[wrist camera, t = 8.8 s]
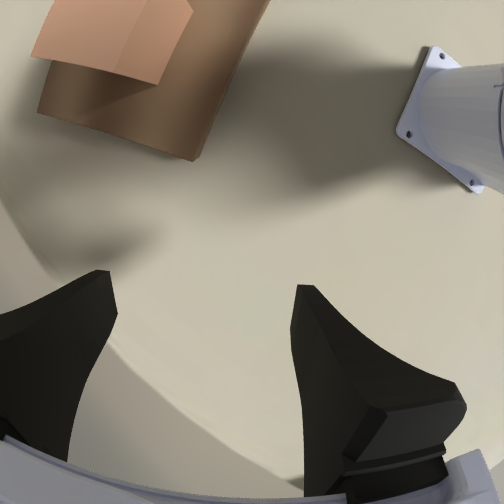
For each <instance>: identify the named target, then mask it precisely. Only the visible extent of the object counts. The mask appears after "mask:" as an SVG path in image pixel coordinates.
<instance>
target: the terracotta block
mask: <svg viewBox="0 0 504 504" xmlns="http://www.w3.org/2000/svg"><path fill="white" fill-rule="evenodd" d="M193 12H194V11H193V10H192V8H191V6H190V5H189V3H188V1H187V0H55V1H54V3H53V5H52V7H51V9H50V11H49V13H48V15H47V17H46V19H45V22H44V24H43V26H42V28H41V31H40V33H39V36H38V38H37V40H36V43H35V45H34V48H33V51H32V53H31V57H38V58H44V59H50V60H56V61H62V62H67V63H72V64H77V65H82V66H86V67H91V68H95V69H100V70H104V71H108V72H112V73H116V74H120V75H124V76H127V77H131V78H135V79H138V80H142V81H145V82H148V83H152V84H155V85H158V84H159V81H160V79H161V77H162V74H163V72H164V70H165V68H166V65H167V63H168V61H169V59H170V57H171V55H172V53H173V50H174V48H175V46H176V44H177V42H178V40H179V38H180V36H181V34H182V32H183V30H184V28H185V27H186V25H187V23H188V21H189V19H190V17H191V15H192V14H193Z"/></svg>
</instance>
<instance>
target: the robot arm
mask: <svg viewBox="0 0 504 504" xmlns="http://www.w3.org/2000/svg"><path fill="white" fill-rule="evenodd" d="M439 54H441V55H442V59H441V58H440V56H439ZM408 131H409V132H410V137H409V138H408V137H407V135H406V134H407V132H408ZM396 134H397V135H398V136H399V137H400V138H402V139H403V140H405V141H406V142H408V143H409V144H411V145H412V146H414V147H415V148H417V149H418V150H419V151H421V152H422V153H424V154H425V155H427V156H428V157H429V158H431V159H432V160H433V161H435V162H436V163H437V164H439V165H440V166H441V167H443V168H444V169H445V170H447V171H448V172H449V173H451V174H452V175H453V176H454V177H456V178H457V179H458V180H459V181H461V182H462V183H463V184H464V185H465V186H467V187H468V188H469V189H470V190H471V191H473V192H474V193H476V194H481V192H482V191H483V188H484V186H487V187H489V188H492V189H494V190H496V191H498V192H500V193H502V194H504V64H492V65H479V66H469V67H462V66H460V65H459V64H458V63H457V62H456V61H455V60H454V59H452V58H451V57H450V56H449V55H448V54H446V53H445V52H444V51H443V50H441V49H440V48H439V47H437V46H432V47H430V48H429V51H428V53H427V56H426V59H425V61H424V64H423V66H422V69H421V71H420V73H419V76H418V78H417V81H416V83H415V86H414V88H413V90H412V93H411V95H410V97H409V100H408V102H407V104H406V106H405V109H404V111H403V113H402V115H401V118H400V120H399V122H398V124H397V126H396ZM471 180H472V182H471V184H470V181H471ZM117 314H118V312H117V307H116V303H115V298H114V292H113V287H112V282H111V276H110V271H104V270H95V271H92V272H90V273H88V274H86V275H84V276H82V277H80V278H78V279H76V280H74V281H72V282H70V283H69V284H67V285H65V286H63V287H61V288H59V289H58V290H56V291H54V292H52V293H50V294H48V295H46V296H44V297H42V298H40V299H38V300H36V301H34V302H32V303H30V304H27V305H25V306H23V307H20V308H18V309H15V310H13V311H10V312H7V313H4V314H0V504H501V501H500V499H499V496H498V493H497V490H496V487H495V485H494V482H493V479H492V477H491V474H490V472H489V469H488V467H487V464H486V462H485V460H484V457H483V455H482V453H481V450H480V449H476V450H474V451H471V452H468V453H466V454H463V455H460V456H458V457H455V458H453V459H451V460H449V461H448V462H446V463H444V460H443V457H442V455H444V454H445V453H446V448H445V446H444V443H443V442H444V441H445V440H446V439H447V438H448V437H449V436H450V434H451V433H452V432H453V431H454V430H455V429H456V428H457V426H458V425H459V424H460V422H461V421H462V420H463V418H464V415H465V413H466V410H467V406H466V403H465V401H464V399H463V397H462V395H461V393H460V392H459V390H458V388H457V386H456V384H455V383H454V382H451V381H449V380H446V379H443V378H440V377H438V376H435V375H432V374H429V373H427V372H425V371H423V370H420V369H418V368H416V367H414V366H412V365H410V364H408V363H406V362H404V361H402V360H401V359H399V358H397V357H396V356H394V355H392V354H391V353H389V352H387V351H386V350H384V349H383V348H381V347H380V346H378V345H377V344H376V343H374V342H373V341H371V340H370V339H369V338H367V337H366V336H365V335H364V334H362V333H361V332H360V331H359V330H358V329H356V328H355V327H354V326H353V325H352V324H351V323H350V322H349V321H348V320H347V319H345V318H344V317H343V316H342V315H341V314H340V313H339V312H338V311H337V310H336V309H335V308H334V306H333V305H332V304H331V303H330V302H329V301H328V300H327V299H326V298H325V297H324V296H323V295H322V294H321V292H320V291H319V290H318V289H317V288H316V287H315V286H314V285H298V284H297V290H296V296H295V302H294V308H293V314H292V320H291V326H290V335H291V351H292V356H293V362H294V367H295V372H296V377H297V382H298V387H299V393H300V398H301V405H302V418H303V436H304V497H303V498H280V499H251V498H250V499H249V498H230V497H229V498H228V497H216V496H206V495H197V494H190V493H182V492H176V491H170V490H164V489H159V488H154V487H149V486H144V485H140V484H136V483H131V482H127V481H123V480H120V479H116V478H112V477H109V476H105V475H102V474H99V473H96V472H93V471H90V470H87V469H84V468H81V467H78V466H75V465H72V464H70V463H67V457H68V450H69V443H70V437H71V432H72V427H73V423H74V419H75V415H76V411H77V407H78V404H79V401H80V398H81V395H82V392H83V389H84V386H85V383H86V381H87V378H88V376H89V374H90V372H91V370H92V368H93V366H94V364H95V362H96V360H97V358H98V357H99V355H100V353H101V351H102V349H103V347H104V345H105V343H106V341H107V340H108V338H109V336H110V334H111V331H112V328H113V326H114V323H115V320H116V317H117Z"/></svg>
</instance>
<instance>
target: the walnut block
mask: <svg viewBox="0 0 504 504" xmlns="http://www.w3.org/2000/svg"><path fill="white" fill-rule="evenodd" d="M187 1H188V3H189V5H190V6H191V8H192V10H193V11H194V12H193V14H192V15H191V17H190V19H189V21H188V23H187V25H186V27H185V28H184V30H183V32H182V34H181V36H180V38H179V40H178V42H177V44H176V46H175V48H174V50H173V53H172V55H171V57H170V59H169V61H168V63H167V65H166V68H165V70H164V72H163V74H162V77H161V79H160V81H159V84H158V85H155V84H152V83H148V82H145V81H142V80H138V79H135V78H131V77H127V76H124V75H120V74H116V73H112V72H108V71H104V70H100V69H95V68H91V67H86V66H82V65H77V64H72V63H67V62H62V61H56V60H52V63H51V66H50V69H49V72H48V75H47V78H46V82H45V85H44V88H43V92H42V95H41V99H40V103H39V107H38V111H37V113H40V114H44V115H48V116H51V117H55V118H59V119H62V120H66V121H69V122H73V123H76V124H80V125H83V126H86V127H90V128H93V129H96V130H100V131H103V132H106V133H109V134H112V135H115V136H119V137H122V138H125V139H128V140H131V141H134V142H137V143H140V144H143V145H146V146H149V147H152V148H155V149H158V150H160V151H163V152H166V153H169V154H172V155H175V156H177V157H180V158H183V159H186V160H188V161H191V162H193V161H194V160H195V159H197V158H198V157H199V156H200V154H201V151H202V149H203V146H204V144H205V141H206V138H207V136H208V133H209V131H210V128H211V126H212V124H213V121H214V119H215V116H216V114H217V112H218V109H219V107H220V104H221V102H222V100H223V97H224V95H225V93H226V91H227V88H228V86H229V84H230V82H231V79H232V77H233V75H234V73H235V71H236V68H237V66H238V64H239V62H240V60H241V58H242V56H243V53H244V51H245V49H246V47H247V45H248V43H249V41H250V39H251V37H252V35H253V33H254V31H255V29H256V27H257V25H258V23H259V21H260V19H261V17H262V15H263V13H264V12H265V10H266V8H267V6H268V4H269V2H270V0H187Z"/></svg>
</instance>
